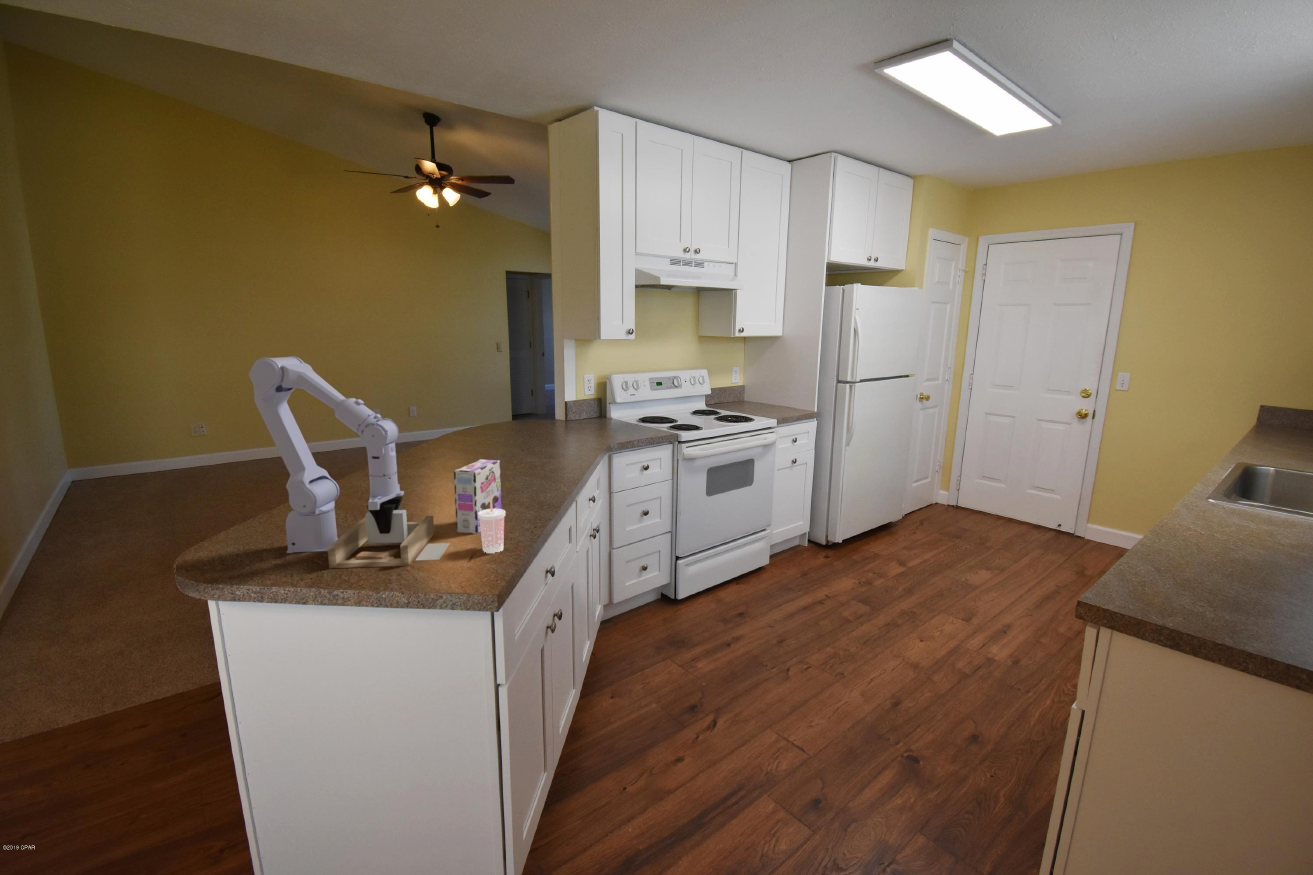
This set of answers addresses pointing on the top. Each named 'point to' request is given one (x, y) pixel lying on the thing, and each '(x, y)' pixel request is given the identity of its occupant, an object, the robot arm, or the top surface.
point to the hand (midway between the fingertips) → (387, 530)
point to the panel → (397, 529)
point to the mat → (432, 551)
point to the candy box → (476, 493)
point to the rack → (358, 535)
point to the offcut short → (372, 555)
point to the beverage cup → (492, 528)
